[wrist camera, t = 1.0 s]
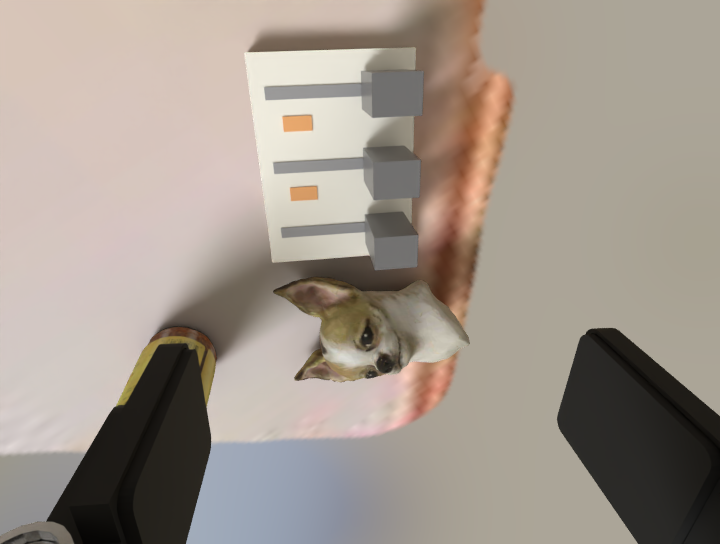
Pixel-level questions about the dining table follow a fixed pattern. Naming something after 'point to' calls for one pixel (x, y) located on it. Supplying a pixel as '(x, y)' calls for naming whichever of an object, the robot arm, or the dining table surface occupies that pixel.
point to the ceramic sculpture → (373, 328)
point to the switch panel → (321, 147)
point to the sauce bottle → (168, 337)
